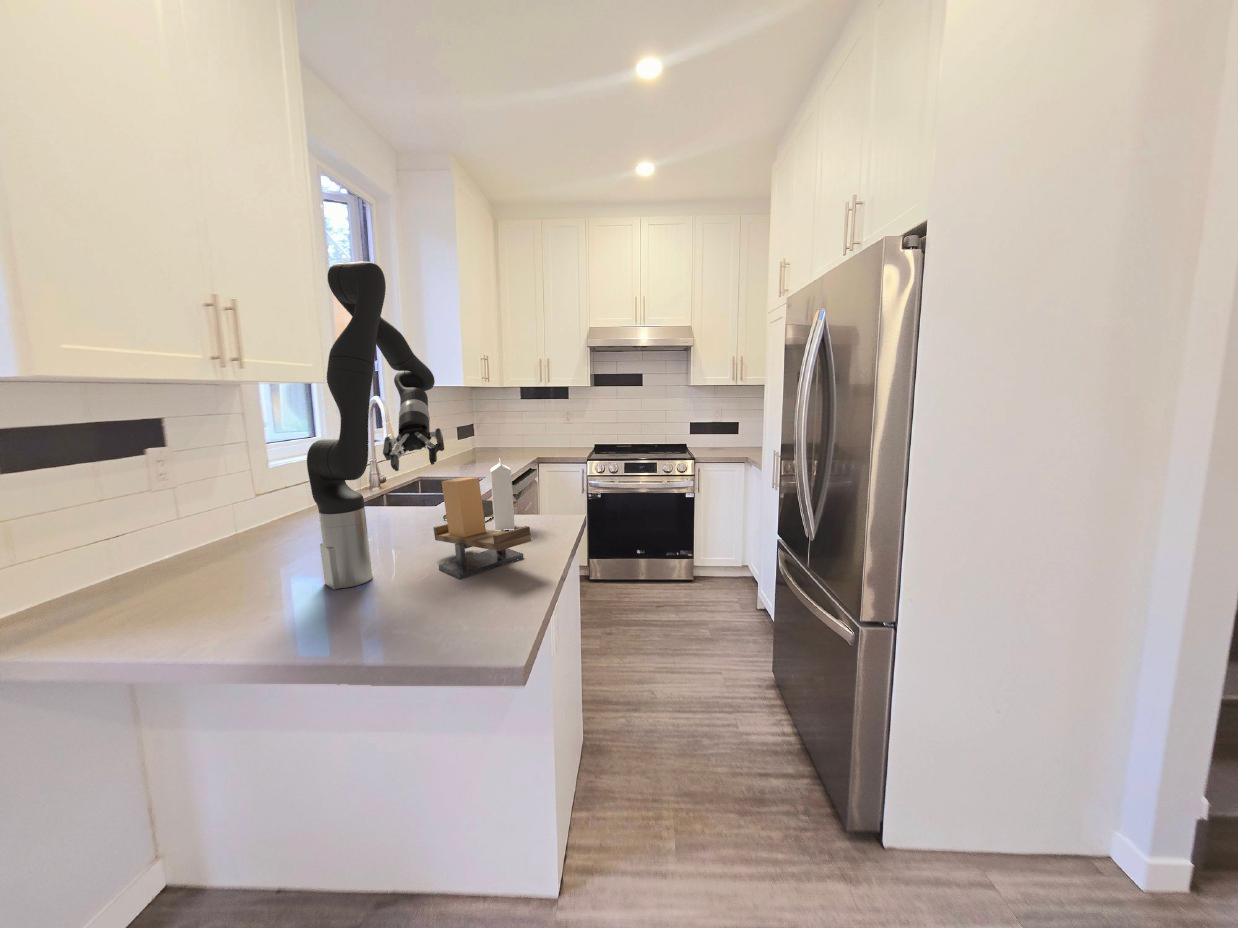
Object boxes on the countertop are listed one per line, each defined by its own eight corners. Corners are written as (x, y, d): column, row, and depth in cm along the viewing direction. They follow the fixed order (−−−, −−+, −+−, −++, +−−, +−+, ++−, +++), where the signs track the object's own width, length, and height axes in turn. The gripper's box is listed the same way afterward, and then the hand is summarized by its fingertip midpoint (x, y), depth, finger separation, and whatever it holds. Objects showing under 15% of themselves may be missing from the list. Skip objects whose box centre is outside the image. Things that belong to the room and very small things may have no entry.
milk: (495, 532, 153) (489, 461, 149) (494, 527, 158) (488, 458, 155) (515, 530, 154) (510, 459, 151) (513, 524, 160) (508, 457, 156)
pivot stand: (523, 558, 128) (521, 533, 127) (460, 579, 115) (457, 552, 114) (501, 550, 135) (499, 527, 134) (439, 569, 122) (436, 543, 121)
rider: (464, 537, 123) (457, 481, 122) (449, 534, 129) (441, 481, 128) (485, 531, 128) (478, 477, 126) (469, 529, 133) (462, 477, 132)
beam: (531, 544, 117) (529, 526, 117) (499, 554, 111) (496, 535, 110) (466, 535, 138) (464, 519, 137) (435, 543, 131) (433, 527, 131)
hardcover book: (517, 507, 186) (517, 501, 186) (485, 523, 164) (484, 517, 164) (480, 505, 191) (479, 499, 190) (443, 521, 169) (442, 515, 168)
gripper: (381, 414, 128) (378, 461, 118) (438, 405, 130) (439, 450, 120) (391, 434, 134) (388, 480, 124) (445, 425, 136) (447, 469, 126)
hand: (414, 465), depth 122 cm, fingers open, 8 cm apart
